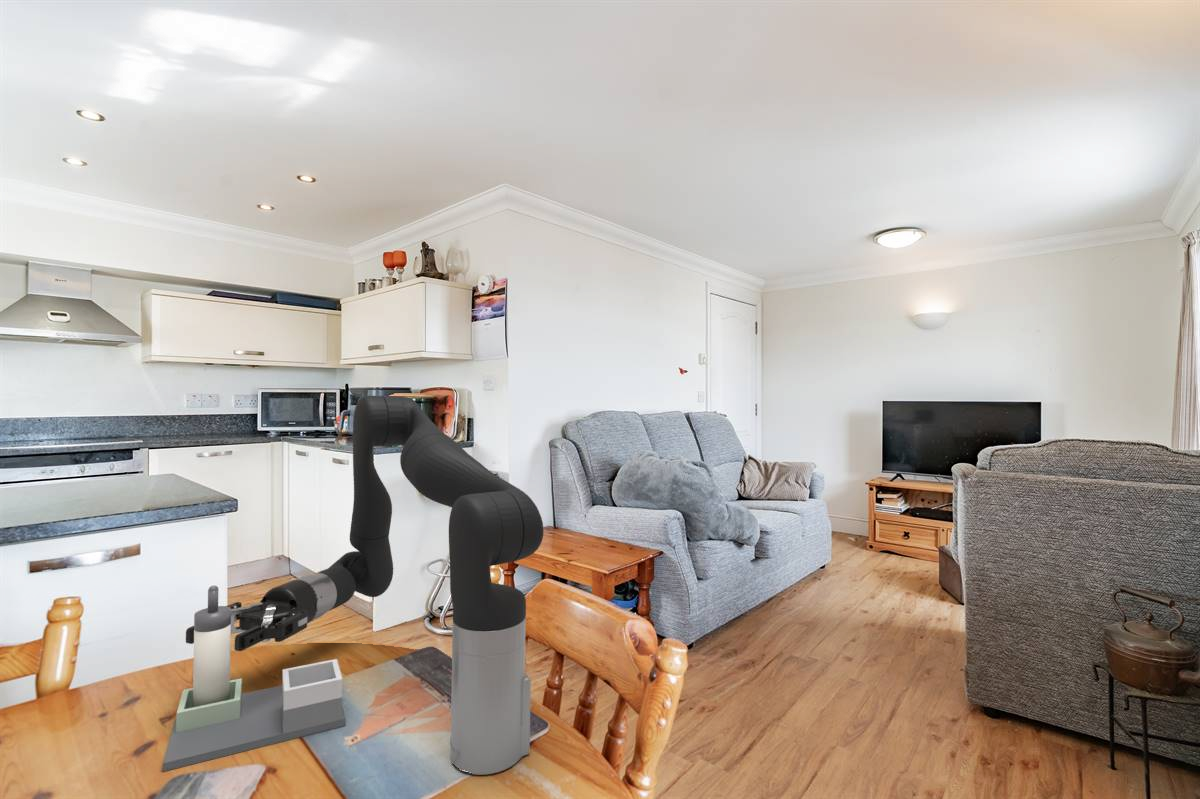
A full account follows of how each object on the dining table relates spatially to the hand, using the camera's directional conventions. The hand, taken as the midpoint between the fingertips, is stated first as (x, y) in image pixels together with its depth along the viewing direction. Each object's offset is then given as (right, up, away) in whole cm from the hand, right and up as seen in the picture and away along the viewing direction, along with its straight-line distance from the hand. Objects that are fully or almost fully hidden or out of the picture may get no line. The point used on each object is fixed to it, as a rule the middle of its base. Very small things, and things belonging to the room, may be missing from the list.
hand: (211, 640), depth 78 cm
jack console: (+7, -11, 0) cm, 13 cm away
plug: (0, -10, 0) cm, 10 cm away
